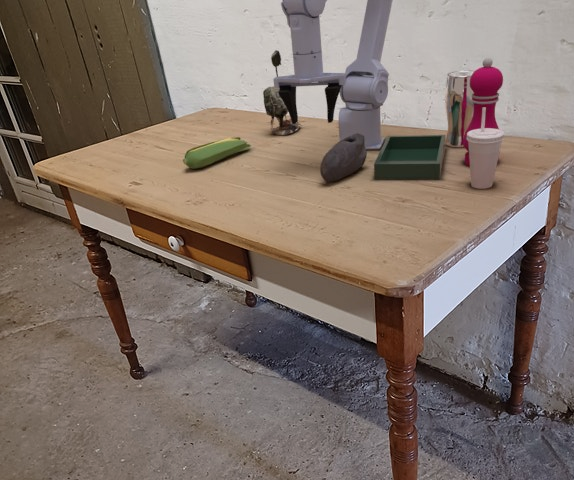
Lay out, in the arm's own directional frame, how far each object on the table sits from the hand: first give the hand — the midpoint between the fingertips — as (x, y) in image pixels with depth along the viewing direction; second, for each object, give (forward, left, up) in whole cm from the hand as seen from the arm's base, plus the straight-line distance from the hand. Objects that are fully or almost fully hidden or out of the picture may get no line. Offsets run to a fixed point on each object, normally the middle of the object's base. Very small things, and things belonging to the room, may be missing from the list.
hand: (312, 122), depth 118 cm
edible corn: (-25, +6, -10) cm, 28 cm away
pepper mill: (+34, +3, -10) cm, 35 cm away
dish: (+20, +2, -10) cm, 22 cm away
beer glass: (+29, +16, -10) cm, 35 cm away
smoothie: (+34, -10, -10) cm, 37 cm away
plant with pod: (-16, +29, -10) cm, 35 cm away
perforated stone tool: (+7, -5, -10) cm, 13 cm away
